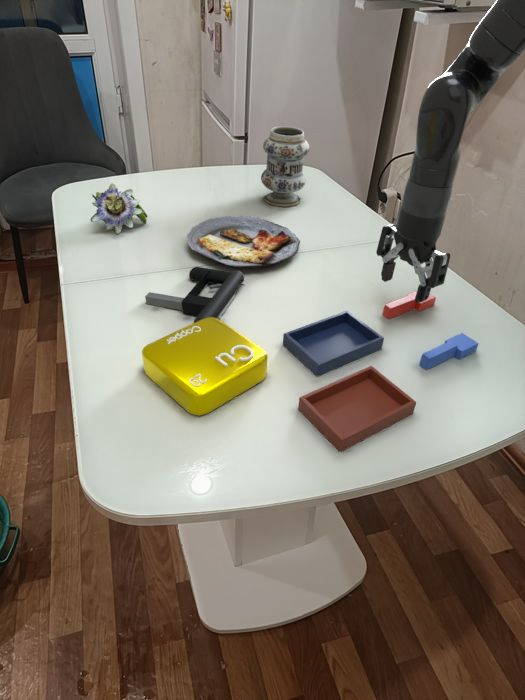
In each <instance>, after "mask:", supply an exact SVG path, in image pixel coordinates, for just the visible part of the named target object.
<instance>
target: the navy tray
mask: <svg viewBox="0 0 525 700" xmlns="http://www.w3.org/2000/svg"><path fill="white" fill-rule="evenodd" d="M384 342H385V337H383V335H381V334H379V332H377V331H376V330H375V329H373V328H372V327H370V326H369V325H368V324H366V323H365V322H363V321H362V320H360V319H359V318H358V317H356V315H354V314H353V313H351V312H350V311H349V310H344V311H342V312H339V313H336V314H333V315H331V316H327V317H325V318H323V319H320V320H317V321H314V322H312V323H311V322H310V323H309V324H306V325H303V326H301V327H298V328H295V329H293V330H289V331H287V332H284V333H283V335H282V346H284V347H285V348H286V349H287V350H288V351H289V353H291V354H292V355H293V356H294V357H296V359H297V360H299V362H301V363H302V364H303V365H304V367H306V368H307V369H308V370H309V371H310V372H311V373H313V374H314V376H316V377H319V376H322V375H324V374H327V373H329V372H331V371H334V370H336V369H338V368H341V367H343V366H345V365H348V364H350V363H352V362H355V361H357V360H360V359H361V358H364V357H366V356H368V355H371V354H374V353H376V352H378V351H380V350H383V345H384Z"/></svg>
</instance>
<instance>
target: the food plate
mask: <svg viewBox="0 0 525 700" xmlns="http://www.w3.org/2000/svg"><path fill="white" fill-rule="evenodd" d="M185 239H186V240H185V241H186V243H187V245H188V246H189V248H191V250H192V251H194V252H196V253H199V254H200V255H203V256H204V257H206V258H209V259H212V260H214V261H216V262H219V263H221V264H223V265H226V266H230V267H234V268H243V269H244V268H264V267H268V266H274V265H277V264H279V263H282V262H283V261H285V260H288V259H290V258H292V257H294V256H295V255H296V254H297V253H298V251H299V247H300V244H301V240H300V239H299V238H298V236H297V235H296V234H295V233H294V232H292V231H291V230H290V229H289V228H288V227H286V226H283V225H281V224H278V223H275V222H273V221H270V220H267V219H264V218H260V217H259V216H251V215H235V216H232V215H231V216H230V215H228V216H227V215H226V216H219V217H214V218H209V219H207V220H203V221H202V222H200V223H198V224H196V225H194V226H192V227H191V229H190V230H189V231H188V232H187V235H186V237H185Z"/></svg>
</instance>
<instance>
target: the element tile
mask: <svg viewBox="0 0 525 700" xmlns="http://www.w3.org/2000/svg"><path fill="white" fill-rule="evenodd" d="M141 356H142V363H143V370H144V373H145V374H146V376H147V377H148V378H149V379H150V380H152V381H153V382H154V383H155V384H156V385H157V386H159V387H160V388H161V389H162V390H163V391H164V392H165V393H166V394H167V395H168V396H170V397H171V398H172V399H173V400H174V401H175V402H176V403H177V404H178V405H180V406H181V407H182V408H183V409H184V410H185V411H186V412H187V413H188V414H191V415H193V416H205V415H207V414H209V413H211V412H212V411H214V410H216V409H218V408H219V407H221V406H222V405H224V404H226V403H228V402H229V401H231V400H232V399H234V398H236V397H238V396H239V395H241V394H242V393H244V392H246V391H247V390H249V389H251V388H253V387H254V386H256V385H257V384H259V383H261V382H262V381H264V380H265V379H266V378H267V371H268V354H267V352H266V350H265V349H263V348H262V347H260V346H259V345H258V344H256V343H254V342H253V341H252V340H250V339H249V338H247V337H246V336H244V335H243V334H241V333H240V332H238V331H237V330H235V328H233V327H231V326H230V325H228V324H227V323H225V322H224V321H223V320H222V319H217V318H214V317H209V318H204V319H202V320H199V321H197V322H195V323H194V322H192V323H191V324H189V325H186V326H184V327H182V328H180V329H178V330H176V331H173V332H171V333H170V334H167V335H165V336H162V337H161V338H159V339H157V340H154V341H152V342H149V343H148V344H146V345H145V346H144V347H143V348H142V350H141Z"/></svg>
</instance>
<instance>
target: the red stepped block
mask: <svg viewBox="0 0 525 700" xmlns="http://www.w3.org/2000/svg"><path fill="white" fill-rule="evenodd" d="M416 294H417V290H416V291H413V292H411V293H409V294H406V296H404V297H401V298H399V299H396V300H393V301H390V302H387V303H385V304H384V307H383V311H382V316H383V317H384V318H386V319H387V320H390V319H392V318H395V317H397V316H400V315H402V314H405V313H407V312H410V311H413V310H416V311H417V312H420V311H424V310H426V309H428V308H430V307H433V306H435V303H436V299H437V297H436V296H435V295H433V294H431V293H430V294H429V297H428V299H427V300H425V301H423V302H421V303H417V302H415V297H416Z"/></svg>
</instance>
